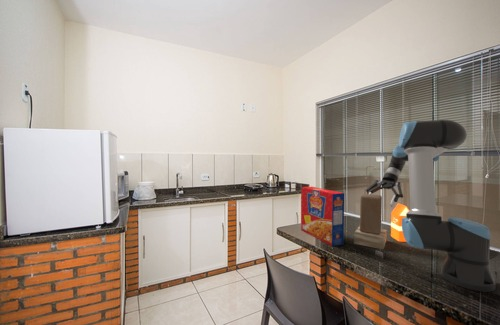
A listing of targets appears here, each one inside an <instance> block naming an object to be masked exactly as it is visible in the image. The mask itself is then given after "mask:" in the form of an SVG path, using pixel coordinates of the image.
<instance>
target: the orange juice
mask: <svg viewBox="0 0 500 325" xmlns="http://www.w3.org/2000/svg"><path fill="white" fill-rule="evenodd" d="M408 211H410V209H409V208H408V207H407V206H406V205H404V204H401V203H399V202H398V203H397V204H396V206H395V207H393V210H392V211H391V212H390V213H391V215H390V217H391V218H390V220H391V221H390V237H392V238H393V239H395V240H396V241H398V242H401V243H402V242H405V243H407V242H406V240H405V238H404V235H403V231H402V218H404V217H406V213H407V212H408Z"/></svg>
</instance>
